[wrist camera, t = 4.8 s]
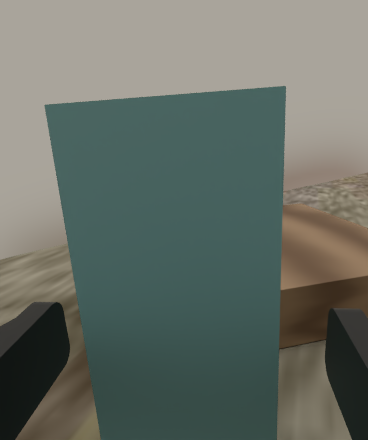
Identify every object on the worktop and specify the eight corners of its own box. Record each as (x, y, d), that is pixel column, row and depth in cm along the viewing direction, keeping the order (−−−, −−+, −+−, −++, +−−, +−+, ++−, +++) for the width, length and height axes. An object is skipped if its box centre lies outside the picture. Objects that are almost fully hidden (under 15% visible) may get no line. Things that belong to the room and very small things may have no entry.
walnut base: (299, 235, 39) (301, 203, 38) (445, 314, 22) (455, 260, 21) (153, 255, 36) (149, 220, 34) (190, 367, 19) (186, 306, 17)
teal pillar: (259, 425, 15) (261, 103, 11) (273, 568, 10) (285, 86, 6) (153, 417, 15) (120, 113, 12) (119, 547, 11) (44, 105, 7)
